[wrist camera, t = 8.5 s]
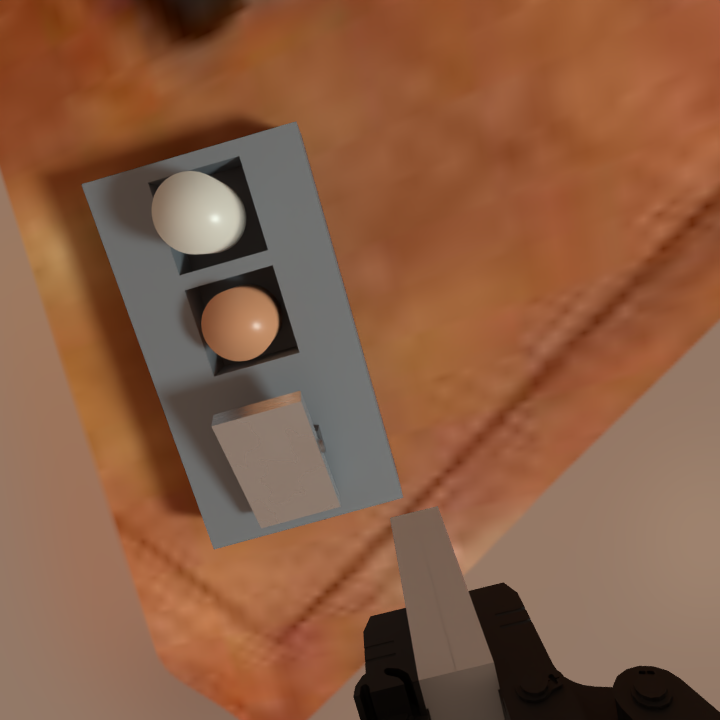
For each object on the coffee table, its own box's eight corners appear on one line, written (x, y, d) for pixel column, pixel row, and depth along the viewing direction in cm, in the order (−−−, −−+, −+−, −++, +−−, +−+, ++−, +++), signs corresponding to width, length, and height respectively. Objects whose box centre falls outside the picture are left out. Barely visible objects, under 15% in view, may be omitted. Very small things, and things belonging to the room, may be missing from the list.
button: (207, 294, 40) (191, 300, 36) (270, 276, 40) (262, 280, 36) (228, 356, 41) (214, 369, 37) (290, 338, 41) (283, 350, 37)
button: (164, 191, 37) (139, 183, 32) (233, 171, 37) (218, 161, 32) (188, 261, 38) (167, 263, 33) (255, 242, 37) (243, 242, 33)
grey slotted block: (110, 191, 40) (72, 182, 35) (301, 135, 40) (294, 117, 34) (226, 519, 45) (210, 558, 40) (397, 473, 45) (404, 505, 39)
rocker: (211, 411, 36) (208, 427, 34) (303, 385, 36) (304, 400, 34) (259, 511, 40) (258, 529, 39) (341, 488, 40) (343, 506, 39)
